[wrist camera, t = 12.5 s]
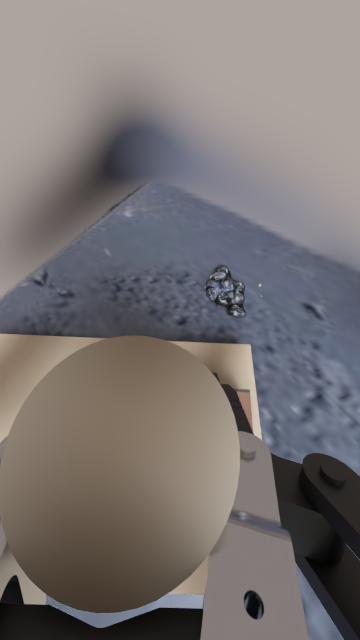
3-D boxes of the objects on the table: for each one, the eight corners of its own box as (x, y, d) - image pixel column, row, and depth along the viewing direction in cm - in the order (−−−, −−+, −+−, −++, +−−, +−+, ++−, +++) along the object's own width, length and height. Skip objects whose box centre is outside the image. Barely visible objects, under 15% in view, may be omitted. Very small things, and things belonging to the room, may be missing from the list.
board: (244, 352, 17) (250, 344, 16) (268, 579, 11) (281, 597, 10) (1, 341, 17) (-14, 332, 16) (-99, 569, 11) (-136, 586, 10)
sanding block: (242, 394, 14) (358, 313, 5) (250, 520, 11) (526, 780, 3) (81, 382, 14) (-65, 280, 5) (47, 505, 11) (-379, 713, 3)
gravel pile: (243, 258, 23) (248, 242, 21) (290, 321, 19) (300, 308, 17) (180, 275, 22) (180, 260, 20) (215, 347, 18) (219, 335, 16)
